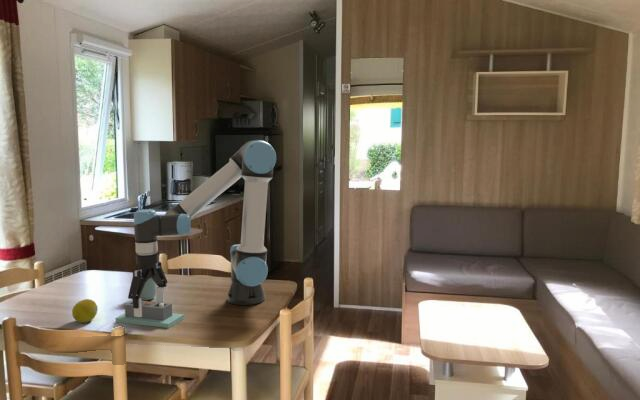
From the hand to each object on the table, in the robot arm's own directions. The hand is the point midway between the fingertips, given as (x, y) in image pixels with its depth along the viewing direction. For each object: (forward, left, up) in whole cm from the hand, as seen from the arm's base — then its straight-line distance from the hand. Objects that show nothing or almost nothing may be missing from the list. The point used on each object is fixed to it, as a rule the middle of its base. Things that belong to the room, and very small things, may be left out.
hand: (149, 310), depth 188 cm
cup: (+16, -21, -4) cm, 27 cm away
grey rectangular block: (0, 0, -2) cm, 2 cm away
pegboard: (0, 0, -4) cm, 4 cm away
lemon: (+22, +7, -4) cm, 23 cm away
